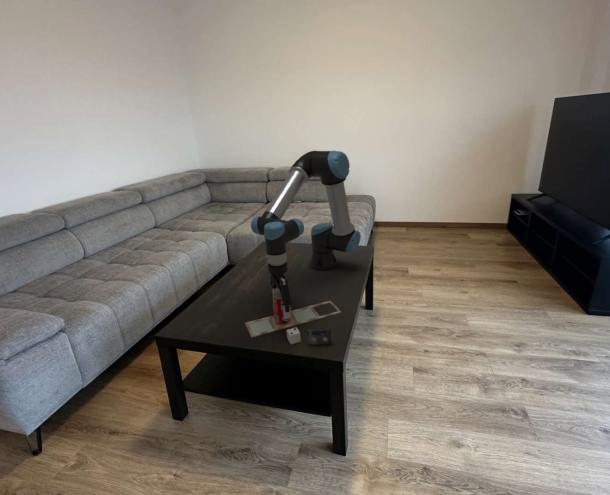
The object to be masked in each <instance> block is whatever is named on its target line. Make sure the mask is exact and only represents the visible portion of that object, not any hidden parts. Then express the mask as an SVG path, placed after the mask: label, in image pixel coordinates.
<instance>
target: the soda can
mask: <svg viewBox="0 0 610 495" xmlns="http://www.w3.org/2000/svg"><path fill="white" fill-rule="evenodd" d="M282 304H283V301H282V297H281V294H280V291H279V292H277V293H275V294H274V297H273V296H272V309H273V310H272V311H273V315H274V318H275V321H276V322H277V323H280V324H285V323H287V322H289V321H290V320H291V318H288V319H284V315H283V306H282ZM291 311H292V306H291V305H290V312H291Z"/></svg>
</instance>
